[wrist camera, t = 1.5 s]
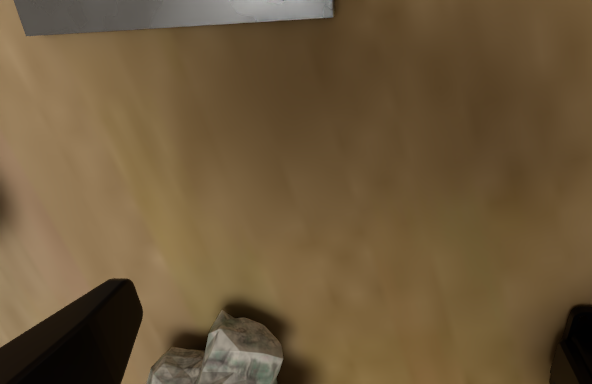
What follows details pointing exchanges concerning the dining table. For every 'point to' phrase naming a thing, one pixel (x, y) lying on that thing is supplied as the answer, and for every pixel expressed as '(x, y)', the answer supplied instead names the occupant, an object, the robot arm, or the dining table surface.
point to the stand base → (158, 13)
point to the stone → (224, 356)
